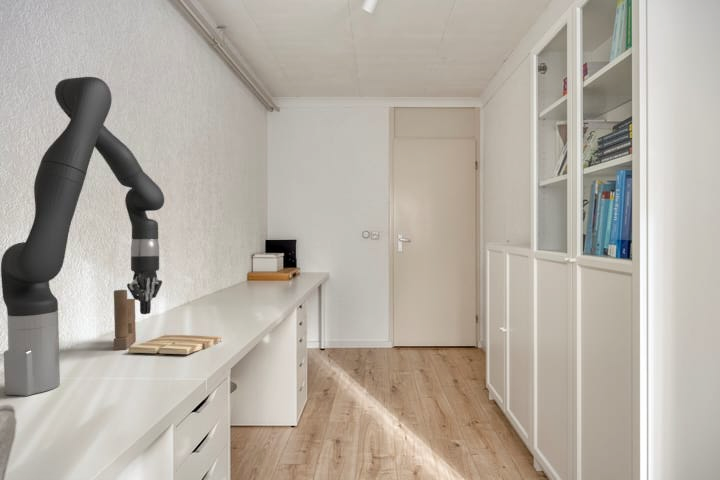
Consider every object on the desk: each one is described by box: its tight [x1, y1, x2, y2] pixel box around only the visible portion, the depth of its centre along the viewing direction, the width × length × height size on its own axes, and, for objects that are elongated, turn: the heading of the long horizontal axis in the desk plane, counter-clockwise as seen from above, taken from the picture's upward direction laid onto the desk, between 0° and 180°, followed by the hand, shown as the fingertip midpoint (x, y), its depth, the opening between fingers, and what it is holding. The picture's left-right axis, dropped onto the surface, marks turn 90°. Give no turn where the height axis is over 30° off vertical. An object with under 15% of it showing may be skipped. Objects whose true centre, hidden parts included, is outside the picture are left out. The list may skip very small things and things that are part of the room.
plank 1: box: [128, 341, 173, 354], centre depth 131 cm, size 8×9×2 cm
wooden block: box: [113, 289, 137, 351], centre depth 138 cm, size 4×11×18 cm, turn 13°
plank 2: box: [158, 343, 203, 355], centre depth 129 cm, size 8×9×2 cm
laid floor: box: [146, 334, 222, 350], centre depth 139 cm, size 10×20×2 cm, turn 79°
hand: (145, 313), depth 129 cm, fingers closed
